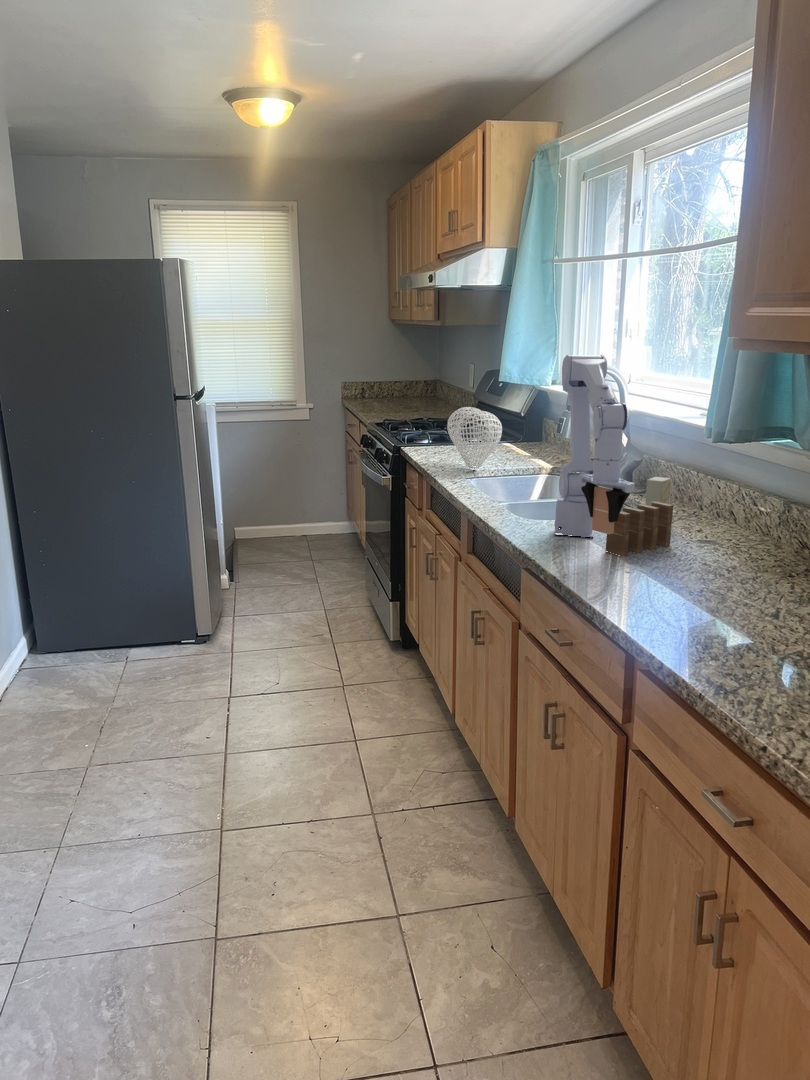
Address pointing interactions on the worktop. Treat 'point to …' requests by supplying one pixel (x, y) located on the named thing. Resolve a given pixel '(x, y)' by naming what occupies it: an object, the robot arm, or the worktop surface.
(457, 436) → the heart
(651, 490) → the skincare box
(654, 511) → the walnut tile
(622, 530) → the walnut tile
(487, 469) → the worktop surface
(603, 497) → the terracotta tile
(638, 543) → the walnut tile
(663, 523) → the walnut tile
